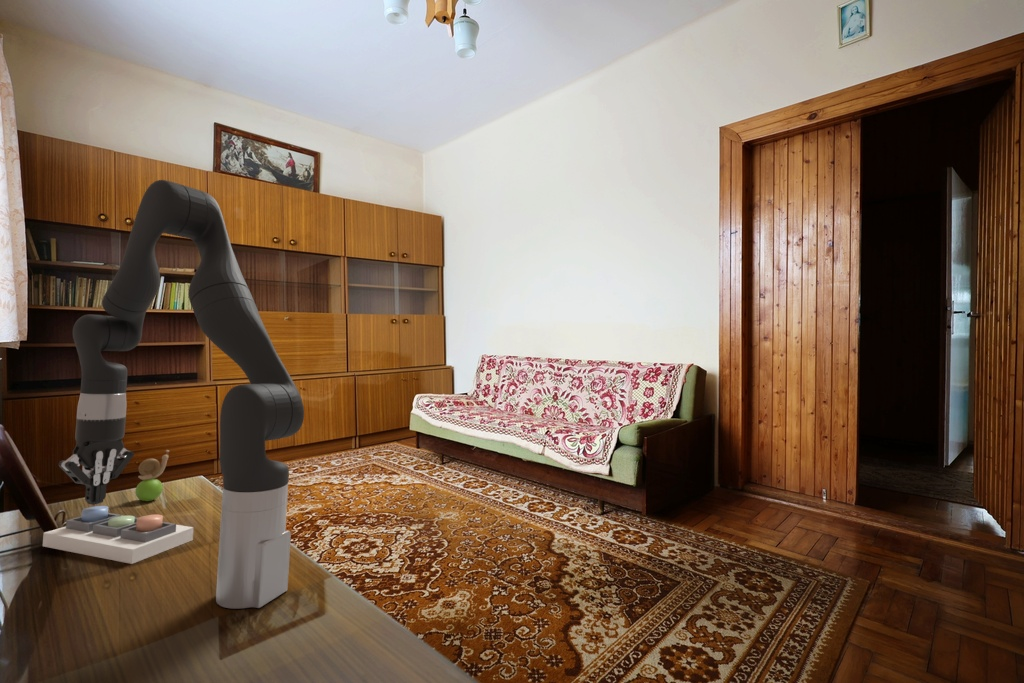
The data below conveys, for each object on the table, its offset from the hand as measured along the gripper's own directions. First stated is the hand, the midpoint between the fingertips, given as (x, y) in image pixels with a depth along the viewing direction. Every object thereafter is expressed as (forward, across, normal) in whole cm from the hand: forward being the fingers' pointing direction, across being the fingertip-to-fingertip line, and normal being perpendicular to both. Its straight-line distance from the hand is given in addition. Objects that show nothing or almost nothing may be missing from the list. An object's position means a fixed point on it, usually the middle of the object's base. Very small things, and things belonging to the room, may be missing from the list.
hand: (95, 503), depth 96 cm
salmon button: (+3, 0, -14) cm, 15 cm away
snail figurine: (+7, +22, +13) cm, 26 cm away
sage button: (+4, 0, -7) cm, 8 cm away
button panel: (+7, 0, -7) cm, 10 cm away
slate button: (+3, 0, 0) cm, 3 cm away
